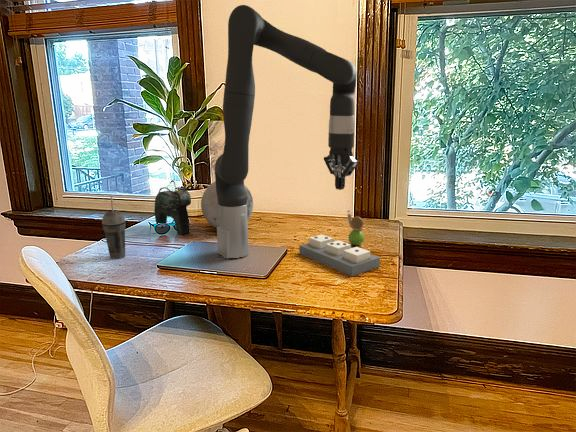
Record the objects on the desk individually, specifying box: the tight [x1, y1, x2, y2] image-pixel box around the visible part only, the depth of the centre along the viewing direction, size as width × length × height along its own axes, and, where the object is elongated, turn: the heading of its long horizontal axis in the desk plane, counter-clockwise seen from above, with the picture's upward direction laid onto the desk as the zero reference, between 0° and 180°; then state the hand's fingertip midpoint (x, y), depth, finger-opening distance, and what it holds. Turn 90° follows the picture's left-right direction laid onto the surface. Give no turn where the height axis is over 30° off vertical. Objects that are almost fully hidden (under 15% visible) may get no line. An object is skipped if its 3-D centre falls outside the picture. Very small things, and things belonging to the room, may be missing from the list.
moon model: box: [200, 180, 254, 229], centre depth 170 cm, size 20×20×20 cm
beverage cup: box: [101, 195, 127, 260], centre depth 141 cm, size 7×7×20 cm
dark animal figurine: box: [153, 180, 192, 236], centre depth 169 cm, size 20×6×20 cm, turn 48°
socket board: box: [298, 240, 381, 277], centre depth 140 cm, size 12×24×3 cm, turn 38°
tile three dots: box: [326, 239, 352, 256], centre depth 139 cm, size 6×6×3 cm
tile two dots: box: [308, 234, 334, 249], centre depth 145 cm, size 6×6×3 cm
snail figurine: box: [347, 209, 365, 246], centre depth 153 cm, size 5×6×12 cm
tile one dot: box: [344, 246, 371, 263], centre depth 133 cm, size 6×6×3 cm
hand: (339, 189), depth 134 cm, fingers closed
